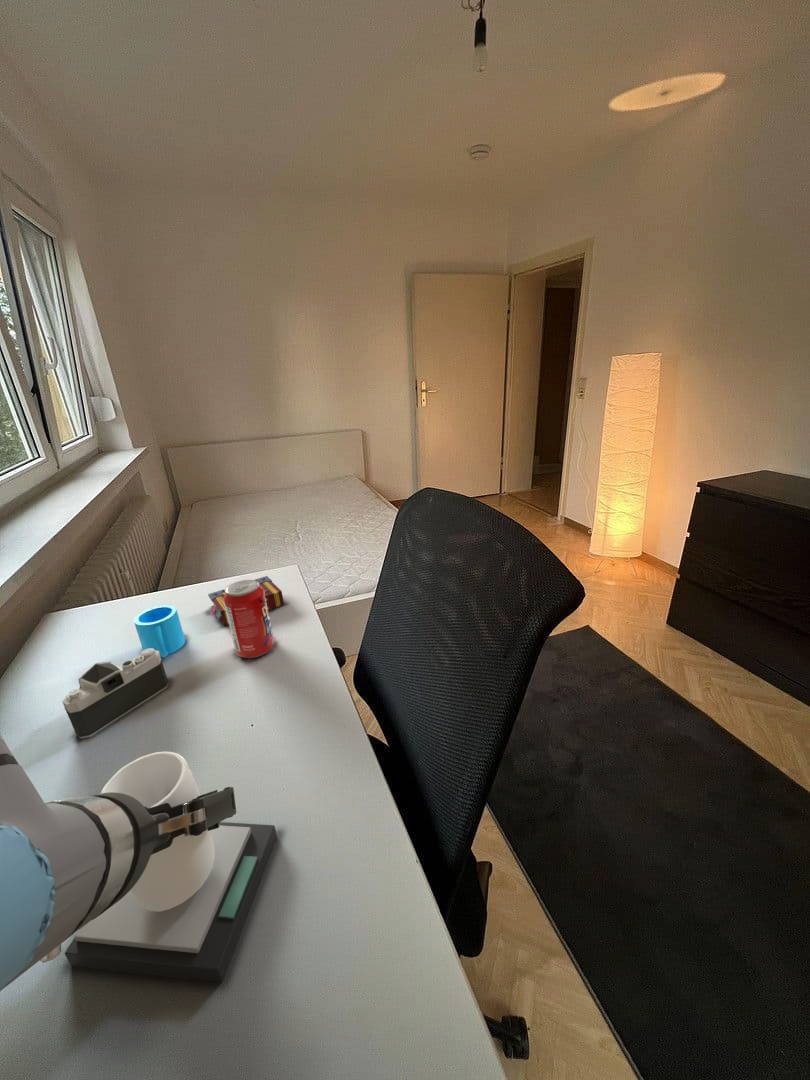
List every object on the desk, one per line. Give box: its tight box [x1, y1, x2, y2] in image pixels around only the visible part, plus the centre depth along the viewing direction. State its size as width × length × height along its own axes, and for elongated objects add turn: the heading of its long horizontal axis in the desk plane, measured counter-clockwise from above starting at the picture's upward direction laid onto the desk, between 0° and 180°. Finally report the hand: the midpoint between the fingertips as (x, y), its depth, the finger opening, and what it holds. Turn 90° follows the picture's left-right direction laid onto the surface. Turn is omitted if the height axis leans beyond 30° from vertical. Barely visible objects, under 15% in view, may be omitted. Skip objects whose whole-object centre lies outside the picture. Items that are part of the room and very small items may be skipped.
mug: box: [133, 604, 186, 658], centre depth 93 cm, size 12×8×8 cm
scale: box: [64, 821, 278, 983], centre depth 49 cm, size 16×14×3 cm
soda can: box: [223, 579, 275, 659], centre depth 91 cm, size 8×8×15 cm
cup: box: [99, 751, 215, 912], centre depth 46 cm, size 8×8×14 cm
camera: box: [61, 648, 170, 739], centre depth 78 cm, size 16×9×10 cm, turn 149°
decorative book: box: [207, 575, 285, 627], centre depth 109 cm, size 11×16×5 cm
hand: (171, 817), depth 49 cm, fingers closed on cup, 8 cm apart
